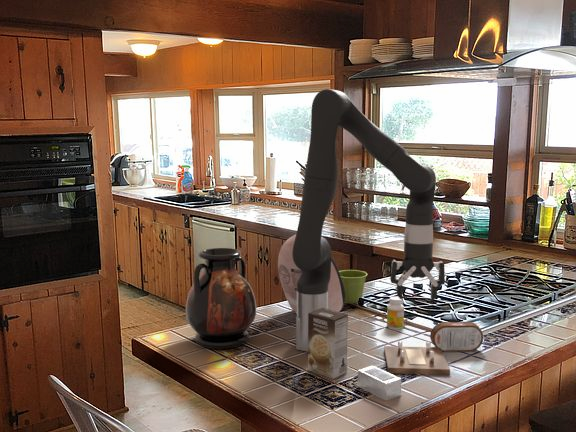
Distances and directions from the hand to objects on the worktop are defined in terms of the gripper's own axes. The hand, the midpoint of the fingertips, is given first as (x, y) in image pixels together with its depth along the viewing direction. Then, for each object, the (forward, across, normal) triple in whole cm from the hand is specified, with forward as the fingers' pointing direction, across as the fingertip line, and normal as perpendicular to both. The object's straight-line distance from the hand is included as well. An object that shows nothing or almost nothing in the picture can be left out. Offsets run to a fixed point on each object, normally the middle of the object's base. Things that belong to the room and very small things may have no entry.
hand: (416, 298), depth 160 cm
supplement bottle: (+18, -3, +30) cm, 35 cm away
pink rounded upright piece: (+19, -31, +38) cm, 52 cm away
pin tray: (+18, 0, 0) cm, 18 cm away
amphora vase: (+19, -57, +13) cm, 61 cm away
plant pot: (+19, -17, +57) cm, 62 cm away
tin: (+18, +13, +10) cm, 25 cm away
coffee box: (+18, -24, -8) cm, 31 cm away
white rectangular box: (+18, -11, -19) cm, 29 cm away
